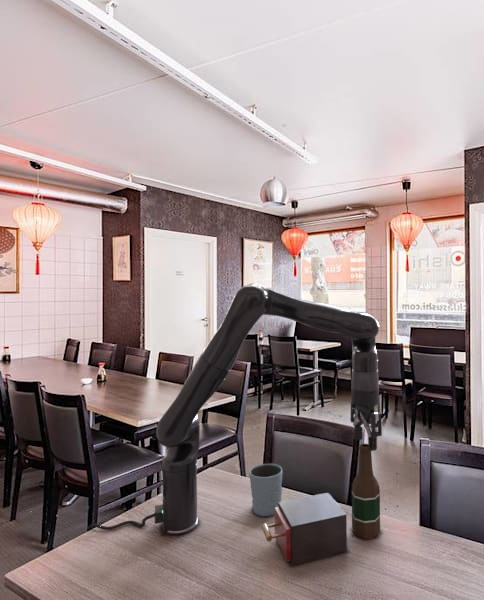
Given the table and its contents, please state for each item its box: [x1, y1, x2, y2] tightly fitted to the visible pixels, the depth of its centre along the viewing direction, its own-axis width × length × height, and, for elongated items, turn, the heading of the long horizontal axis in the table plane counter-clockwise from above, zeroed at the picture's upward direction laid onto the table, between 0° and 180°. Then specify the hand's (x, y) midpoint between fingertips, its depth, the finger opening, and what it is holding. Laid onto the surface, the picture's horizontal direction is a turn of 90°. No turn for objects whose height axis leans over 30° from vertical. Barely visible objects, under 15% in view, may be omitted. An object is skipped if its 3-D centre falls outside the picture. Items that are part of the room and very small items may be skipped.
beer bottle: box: [351, 443, 381, 540], centre depth 114 cm, size 8×8×24 cm
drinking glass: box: [249, 463, 283, 517], centre depth 127 cm, size 10×10×12 cm
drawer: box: [261, 507, 291, 562], centre depth 107 cm, size 18×11×8 cm, turn 111°
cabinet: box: [278, 492, 348, 566], centre depth 109 cm, size 15×13×10 cm
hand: (365, 444), depth 114 cm, fingers open, 8 cm apart
